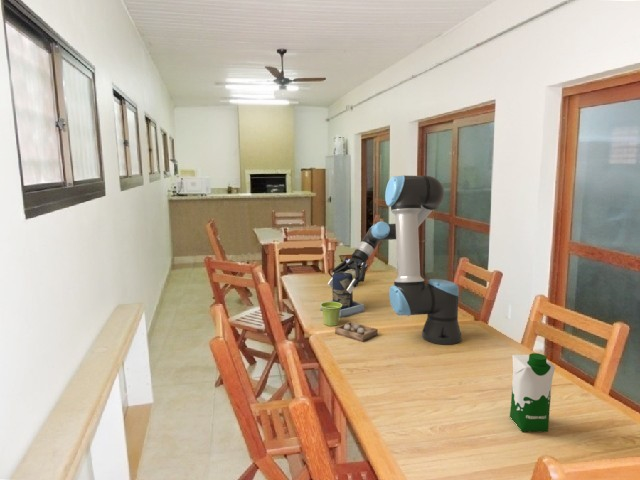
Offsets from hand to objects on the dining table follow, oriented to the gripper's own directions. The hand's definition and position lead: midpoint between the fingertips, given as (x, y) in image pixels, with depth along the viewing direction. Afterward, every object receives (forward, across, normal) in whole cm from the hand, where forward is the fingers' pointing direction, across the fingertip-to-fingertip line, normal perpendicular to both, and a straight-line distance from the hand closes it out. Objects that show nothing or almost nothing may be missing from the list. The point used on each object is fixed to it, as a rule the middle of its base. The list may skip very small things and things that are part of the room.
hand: (338, 288), depth 214 cm
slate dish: (+6, 0, -9) cm, 11 cm away
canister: (+6, 0, -9) cm, 11 cm away
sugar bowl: (-16, +33, -32) cm, 49 cm away
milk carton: (+24, -104, +8) cm, 107 cm away
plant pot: (+18, -11, +1) cm, 21 cm away
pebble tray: (+17, -27, +2) cm, 32 cm away
